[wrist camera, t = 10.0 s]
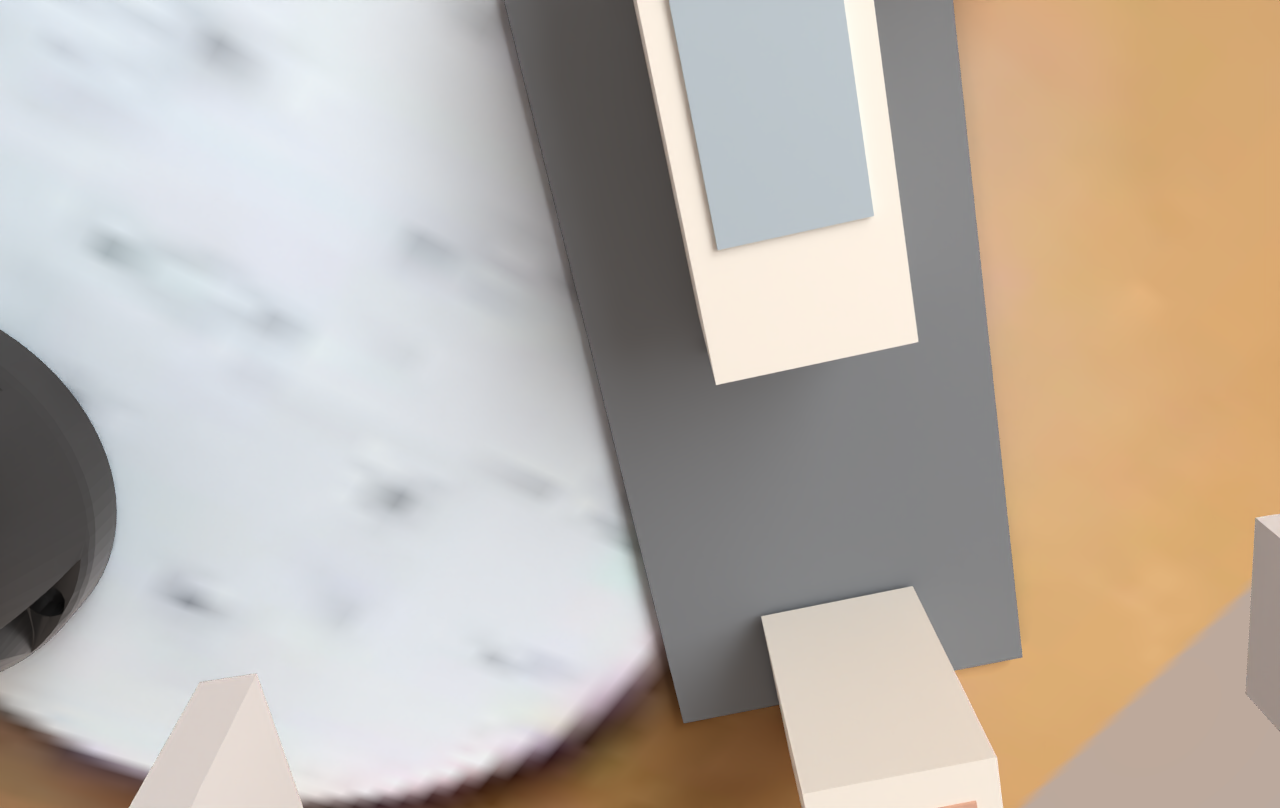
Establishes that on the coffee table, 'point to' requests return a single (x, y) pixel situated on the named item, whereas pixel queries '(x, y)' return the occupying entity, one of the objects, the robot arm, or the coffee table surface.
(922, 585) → the mat
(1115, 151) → the coffee table surface
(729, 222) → the cream long box
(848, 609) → the box with pink panel
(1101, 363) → the coffee table surface
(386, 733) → the coffee table surface
